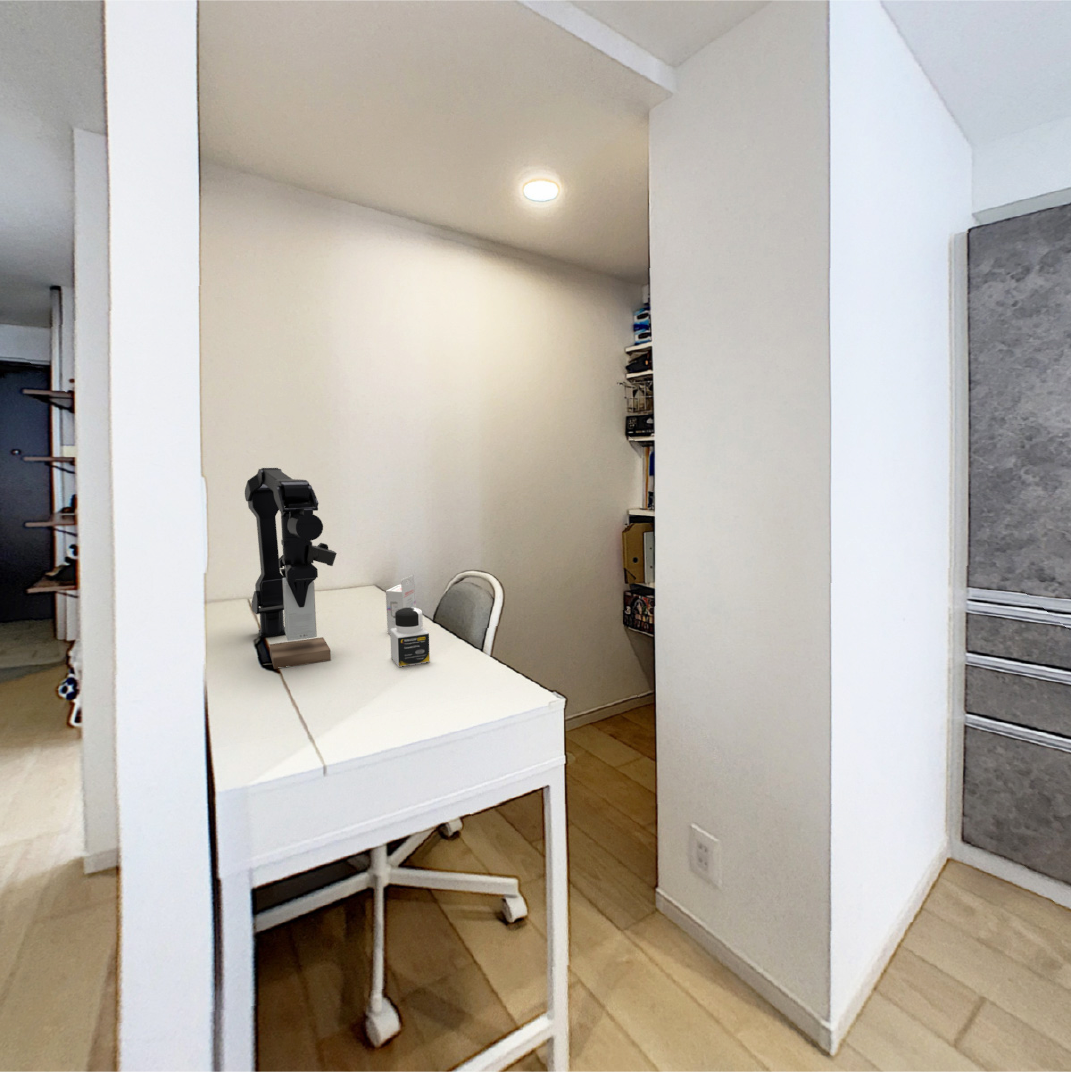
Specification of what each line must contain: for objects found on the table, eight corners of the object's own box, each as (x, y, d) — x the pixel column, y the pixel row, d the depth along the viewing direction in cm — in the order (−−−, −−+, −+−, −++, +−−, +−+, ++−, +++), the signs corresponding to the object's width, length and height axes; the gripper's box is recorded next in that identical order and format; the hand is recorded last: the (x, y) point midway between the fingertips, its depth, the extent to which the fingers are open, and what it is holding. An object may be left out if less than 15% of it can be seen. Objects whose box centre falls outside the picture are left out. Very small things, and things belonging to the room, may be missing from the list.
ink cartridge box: (400, 625, 165) (398, 573, 163) (416, 626, 164) (415, 573, 162) (386, 634, 157) (384, 579, 155) (404, 635, 156) (402, 580, 154)
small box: (317, 637, 136) (314, 581, 134) (287, 641, 133) (284, 584, 131) (313, 628, 143) (310, 575, 141) (284, 631, 140) (281, 577, 138)
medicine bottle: (398, 667, 132) (397, 614, 130) (390, 658, 138) (389, 607, 136) (430, 662, 135) (428, 611, 133) (420, 653, 141) (419, 604, 140)
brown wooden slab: (270, 654, 140) (269, 644, 140) (323, 647, 146) (323, 637, 146) (274, 669, 131) (273, 658, 130) (331, 660, 136) (330, 649, 136)
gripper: (340, 538, 131) (343, 608, 133) (325, 529, 147) (328, 591, 149) (285, 541, 125) (289, 614, 127) (276, 532, 141) (280, 596, 144)
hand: (299, 603), depth 137 cm, fingers closed on small box, 8 cm apart
